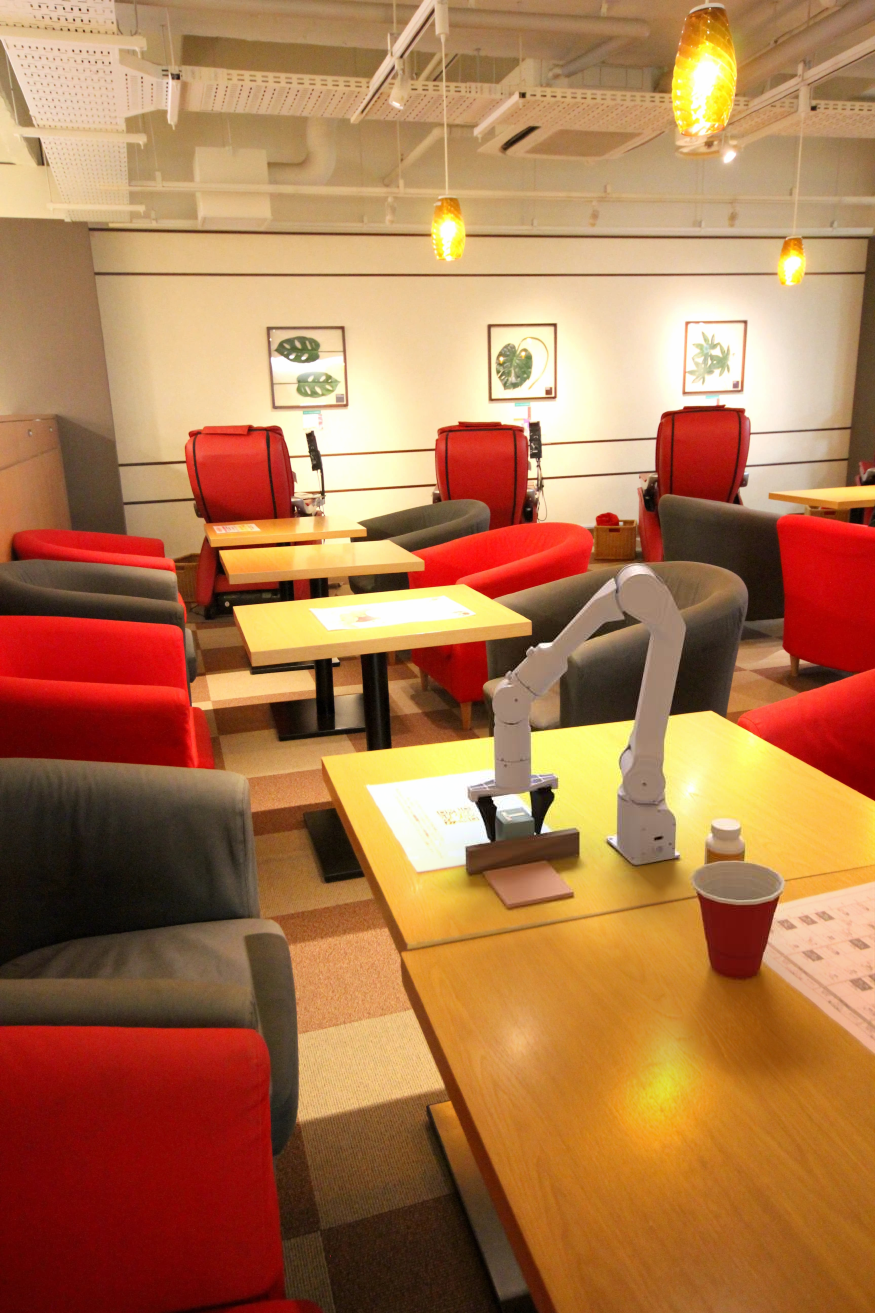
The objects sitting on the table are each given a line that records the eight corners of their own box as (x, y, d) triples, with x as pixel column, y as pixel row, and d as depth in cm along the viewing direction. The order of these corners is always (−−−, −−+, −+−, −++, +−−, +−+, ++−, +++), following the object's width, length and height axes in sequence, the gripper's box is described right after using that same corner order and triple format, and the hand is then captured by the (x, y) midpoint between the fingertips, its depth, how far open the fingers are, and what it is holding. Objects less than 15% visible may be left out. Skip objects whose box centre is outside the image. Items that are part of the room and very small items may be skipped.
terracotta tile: (573, 895, 129) (573, 891, 129) (507, 908, 126) (507, 904, 126) (545, 864, 138) (545, 860, 138) (483, 875, 135) (483, 871, 135)
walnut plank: (579, 855, 140) (579, 831, 139) (469, 875, 135) (468, 850, 134) (575, 851, 142) (575, 827, 141) (466, 870, 137) (465, 846, 136)
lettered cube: (534, 848, 143) (534, 819, 142) (504, 854, 142) (504, 824, 141) (522, 835, 148) (522, 806, 147) (493, 840, 147) (493, 811, 145)
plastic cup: (708, 931, 119) (712, 848, 116) (792, 960, 112) (798, 872, 109) (671, 971, 111) (674, 882, 108) (759, 1004, 104) (765, 910, 101)
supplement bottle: (748, 895, 127) (751, 832, 125) (709, 896, 127) (712, 832, 125) (736, 876, 132) (739, 815, 130) (699, 877, 132) (701, 816, 130)
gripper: (545, 741, 147) (546, 818, 150) (460, 753, 143) (462, 832, 146) (563, 755, 140) (563, 836, 144) (475, 769, 136) (477, 851, 140)
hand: (513, 835), depth 145 cm, fingers open, 7 cm apart
